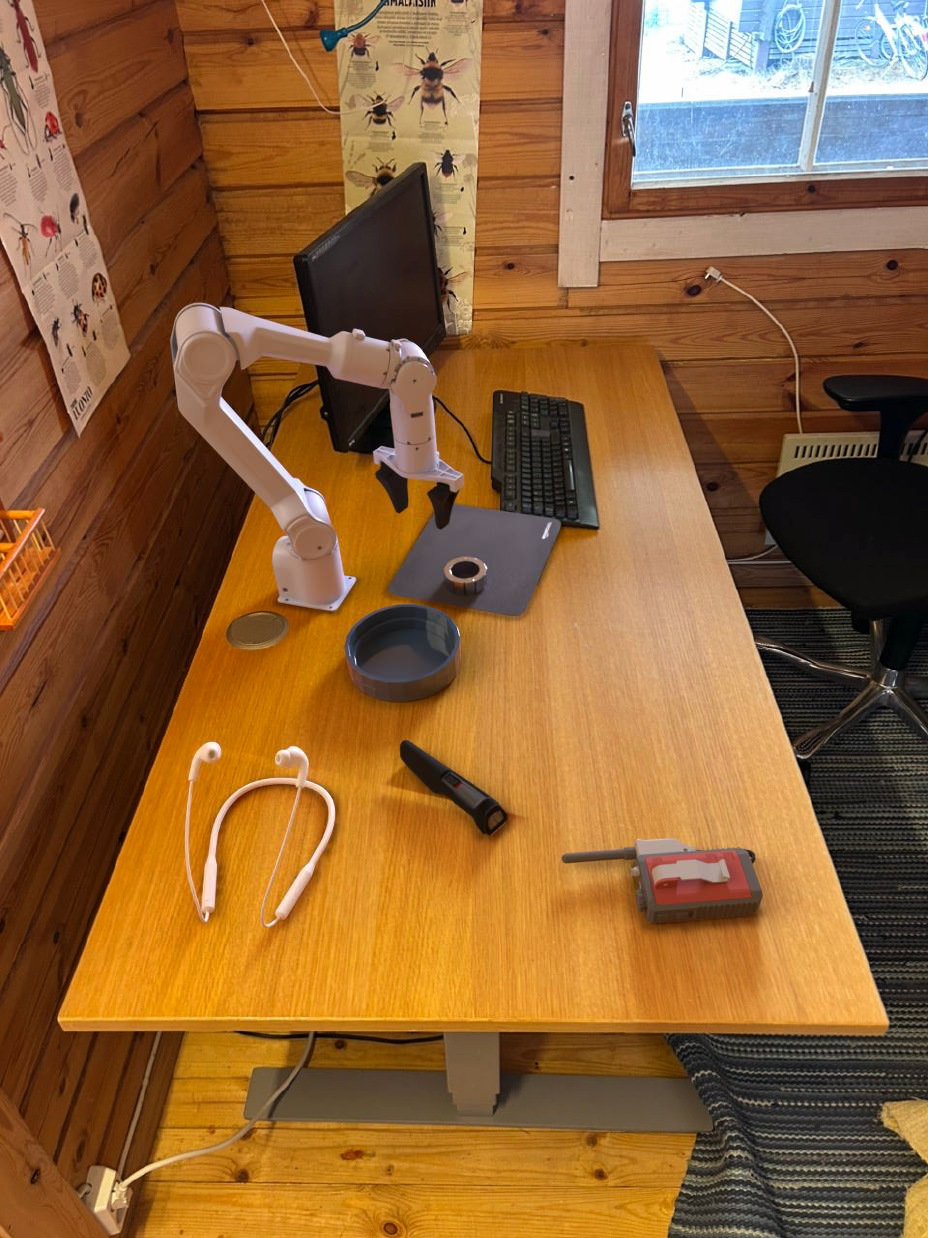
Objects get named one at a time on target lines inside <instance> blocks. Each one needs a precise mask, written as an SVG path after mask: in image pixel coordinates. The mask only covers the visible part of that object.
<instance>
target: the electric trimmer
mask: <svg viewBox="0 0 928 1238" xmlns="http://www.w3.org/2000/svg"><path fill="white" fill-rule="evenodd" d="M399 757H400V759H401V761H402V763H403V764H405V765H406V767H407V768H408V769H409V770H410V771H411V772H412V773H413V774H414V775H415V776H416V777H417V778H418V779H419V780H420V781H421V782H422V784H424V785H425V786H426V787H427V789H429V790H430V791H431V792H432V793H435V794H441V795H444V796H445V797H446V798H448V799H449V800H450V801H451V802H452V803H453V804H455V805H456V806H458V807H459V808H460V809H461V810H463V812H465V813H466V814H467V815H469V816H470V817H471V818H472V819H473V821H474V823H475V825H476V828H477V829H478V830H479V831H480V832H481V833H482V834H483V835H488V836H490V837H492V836H493V835H494V834H496V832H497V831H499V830H500V829H501V828H502V827H503V826H505V824H506V822H507V821H508V814H507V812H506V811H505V809H504V808H503V807H502V805H501V804H500V802H498V801H497V800H496V799H494V798H493V797H492V796H491V795H489V794H488V793H487V792H486V791H484V790H483V789H481V788H480V787H478V786H476V785H475V784H474V783H473V782H471V781H469V780H468V779H467V778H465V777H464V776H462V775H461V774H459V773H458V772H456V771H454V770H453V769H451V768H450V767H448V766H447V765H445V764H444V763H443V762H441V761H439V760H438V759H437V758H435V757H434V756H432V755H431V754H429V753H428V752H427V751H425V750H423V749H422V748H421V747H419V746H417V745H416V744H414V743H413V742H412V741H411V740H408V739H403V740H402V741H401V742H400V744H399Z"/></svg>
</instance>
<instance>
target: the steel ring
mask: <svg viewBox="0 0 928 1238" xmlns="http://www.w3.org/2000/svg"><path fill="white" fill-rule="evenodd" d="M462 574H471V575H475V576H474V577H472V578H467V579H461V578H457V576H458V575H462ZM444 583H445V587H446V589H447V591H449V592H450V593H452V594H455V595H458V596H472V595H475V594H478V593H480V592H481V591H483V590H484V589H485V587H486V585H487V568H486V566H485V564H484V562H482V561H481V560H479V559H476V558H473V557H460V558H456V559H453V560H451V561H450V562H448V564H446V566H445V568H444Z"/></svg>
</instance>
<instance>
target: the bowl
mask: <svg viewBox="0 0 928 1238" xmlns="http://www.w3.org/2000/svg"><path fill="white" fill-rule="evenodd" d="M343 649H344V654H345V660H346V666H347V671H348V675H349V678H350V680H351V682H353V684H354V686H355V687H356V688H357V689H358V690H360V691H361V692H362V693H363V694H365V695H366V696H369V697H371V698H373V699H376V700H379V701H383V702H387V703H408V702H409V703H410V702H413V701H414V702H415V701H419V700H424V699H426V698H428V697H432V696H433V695H436V694H438V693H439V692H441V691H442V690H444V689H445V688H447V687H448V686H449V685H450V683H451V682H452V681H453V680H454V679H456V677H457V675H458V673H459V671H460V669H461V666H462V643H461V634H460V632H459V628H458V626H457V624H456V623H455V622H454V621H453V619H452V618H451V617H450V616H448V615H447V614H446V613H444V612H443V611H441V610H439V609H436V608H433V607H431V606H428V605H424V604H423V605H422V604H417V603H400V604H394V605H389V606H384V607H382V608H379V609H376V610H374V611H371V612H369V613H368V614H366V615H365V616H363V617H361V618H360V619H359V620H358V621H357V622H356V623H355V624H354V625H352V626H351V628H350V630H349V631H348V633H347V635H346V637H345V641H344V645H343Z"/></svg>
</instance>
